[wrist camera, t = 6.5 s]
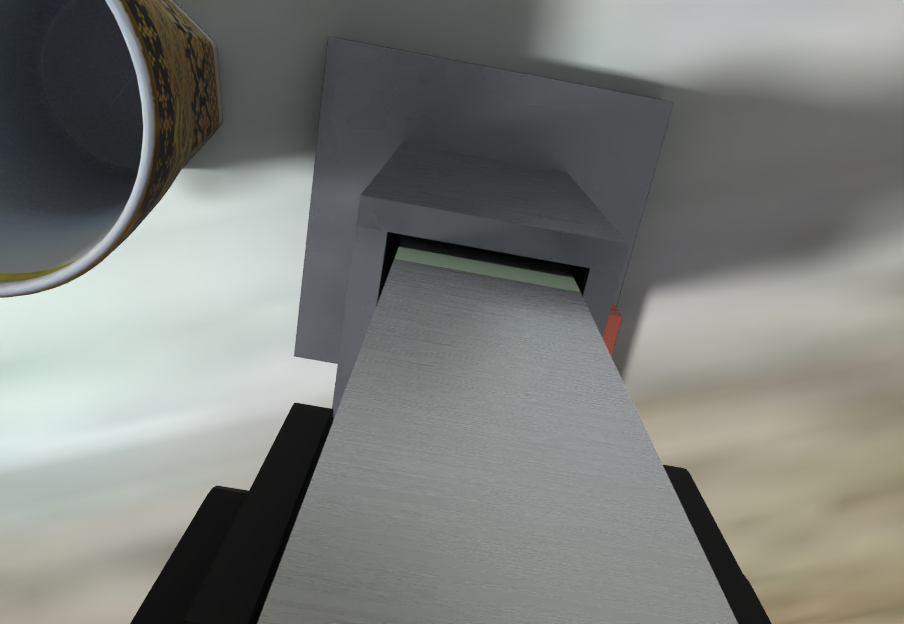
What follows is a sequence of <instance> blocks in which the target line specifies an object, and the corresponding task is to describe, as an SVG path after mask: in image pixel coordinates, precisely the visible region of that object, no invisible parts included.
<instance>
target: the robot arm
mask: <svg viewBox="0 0 904 624" xmlns="http://www.w3.org/2000/svg"><path fill="white" fill-rule="evenodd" d="M333 417H334V410H333V409H330V408H324V407H318V406H312V405H306V404H300V403H294V404H293V406H292V408H291V410H290V412H289V414H288V416H287V418H286V420H285V422H284V424H283V425H282V427H281V429H280V431H279V433H278V435H277V437H276V439H275V441H274V443H273V445H272V447H271V449H270V451H269V453H268V455H267V457H266V459H265V461H264V463H263V465H262V467H261V469H260V471H259V473H258V475H257V477H256V479H255V481H254V483H253V485H252V486H251V488H250V490H249V491H247V490H241V489H235V488H229V487H222V486H215V487H213V488H212V489H211V491H210V492H209V493H208V495H207V496H206V498H205V500H204V501H203V503H202V505H201V506H200V508H199V510H198V511H197V513H196V515H195V516H194V518H193V520H192V521H191V523H190V525H189V526H188V528H187V530H186V531H185V533H184V535H183V536H182V538H181V540H180V541H179V543H178V545H177V546H176V548H175V550H174V551H173V553H172V555H171V556H170V558H169V560H168V561H167V563H166V565H165V566H164V568H163V570H162V571H161V573H160V575H159V576H158V578H157V580H156V581H155V583H154V585H153V586H152V588H151V590H150V591H149V593H148V595H147V596H146V598H145V600H144V601H143V603H142V605H141V606H140V608H139V610H138V611H137V613H136V615H135V616H134V618H133V620H132V621H131V623H130V624H257V623H258V620H259V618H260V615H261V612H262V610H263V607H264V604H265V602H266V599H267V596H268V594H269V591H270V588H271V586H272V583H273V580H274V578H275V575H276V572H277V570H278V567H279V564H280V562H281V559H282V556H283V554H284V551H285V548H286V546H287V543H288V540H289V538H290V535H291V532H292V530H293V527H294V525H295V522H296V519H297V517H298V514H299V511H300V509H301V506H302V503H303V501H304V498H305V495H306V493H307V490H308V487H309V485H310V482H311V479H312V477H313V474H314V471H315V469H316V466H317V463H318V461H319V458H320V455H321V453H322V450H323V447H324V445H325V442H326V439H327V437H328V434H329V431H330V429H331V426H332V423H333V421H334V419H333ZM663 467H664V469H665V471H666V473H667V475H668V477H669V479H670V482H671V484H672V486H673V488H674V490H675V492H676V494H677V496H678V498H679V500H680V503H681V505H682V507H683V509H684V511H685V513H686V515H687V517H688V519H689V522H690V524H691V526H692V528H693V530H694V532H695V534H696V536H697V538H698V540H699V543H700V545H701V547H702V549H703V551H704V553H705V555H706V557H707V559H708V562H709V564H710V566H711V568H712V570H713V572H714V574H715V576H716V578H717V580H718V583H719V585H720V587H721V589H722V591H723V593H724V595H725V597H726V599H727V601H728V604H729V606H730V608H731V610H732V612H733V614H734V616H735V618H736V620H737V623H738V624H771V622H770V620H769V618H768V616H767V614H766V612H765V611H764V609H763V607H762V605H761V603H760V601H759V599H758V597H757V596H756V594H755V592H754V590H753V588H752V586H751V584H750V583H749V581H748V580H747V579H746V577H745V576H744V574H743V573H742V571H741V569H740V568H739V566H738V564H737V562H736V560H735V558H734V556H733V554H732V552H731V551H730V549H729V547H728V545H727V543H726V541H725V539H724V537H723V535H722V534H721V532H720V530H719V528H718V526H717V524H716V522H715V520H714V518H713V517H712V515H711V513H710V511H709V509H708V507H707V505H706V503H705V501H704V500H703V498H702V496H701V494H700V492H699V490H698V488H697V486H696V485H695V483H694V481H693V479H692V477H691V475H690V473H689V472H688V471H687V469H684V468H680V467H674V466H668V465H663Z"/></svg>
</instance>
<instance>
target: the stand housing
mask: <svg viewBox="0 0 904 624" xmlns="http://www.w3.org/2000/svg"><path fill="white" fill-rule="evenodd" d="M672 106H673V102H669V101H665V100H660V99H654V98H649V97H644V96H639V95H633V94H628V93H623V92H618V91H612V90H607V89H602V88H597V87H591V86H586V85H581V84H576V83H570V82H565V81H560V80H555V79H549V78H544V77H539V76H534V75H528V74H523V73H518V72H513V71H507V70H502V69H497V68H492V67H486V66H481V65H476V64H470V63H465V62H460V61H455V60H449V59H444V58H439V57H434V56H428V55H423V54H418V53H413V52H407V51H402V50H397V49H392V48H386V47H381V46H376V45H371V44H365V43H360V42H355V41H350V40H344V39H339V38H333V37H328V43H327V53H326V62H325V72H324V81H323V90H322V100H321V109H320V118H319V128H318V137H317V147H316V156H315V165H314V175H313V184H312V193H311V203H310V212H309V222H308V231H307V240H306V250H305V259H304V268H303V278H302V287H301V297H300V306H299V315H298V325H297V334H296V343H295V353H294V356H295V357H301V358H307V359H313V360H319V361H324V362H330V363H336V364H338V368H337V375H336V383H335V390H334V398H333V406H332V409H333V410H334V417H333V419H334V418H335V415H336V413H337V410H338V407H339V405H340V402H341V400H342V397H343V394H344V392H345V389H346V386H347V384H348V381H349V378H350V376H351V373H352V370H353V368H354V365H355V362H356V360H357V357H358V354H359V352H360V349H361V346H362V344H363V341H364V338H365V336H366V333H367V330H368V328H369V325H370V322H371V320H372V317H373V314H374V312H375V309H376V306H377V304H378V301H379V298H380V296H381V293H382V290H383V288H384V285H385V282H386V280H387V277H388V274H389V272H390V269H391V267H392V264H393V261H394V259H395V256H396V253H397V251H398V248H399V245H400V243H401V240H402V237H403V235H408V236H414V237H419V238H425V239H430V240H436V241H442V242H447V243H453V244H458V245H464V246H469V247H475V248H480V249H486V250H492V251H497V252H503V253H508V254H514V255H519V256H525V257H531V258H536V259H542V260H547V261H553V262H558V263H564V264H567V265H568V267H569V269H570V271H571V273H572V275H573V277H574V280H575V282H576V284H577V286H578V288H579V290H580V292H581V294H582V296H583V298H584V301H585V303H586V305H587V307H588V309H589V311H590V313H591V315H592V317H593V320H594V322H595V324H596V326H597V328H598V330H599V332H600V334H601V336H602V338H603V341H604V343H605V345H606V347H607V349H608V351H609V353H610V355H612V352H613V348H614V345H615V341H616V338H617V334H618V331H619V327H620V324H621V320H622V316H621V314H620V312H619V310H618V309H617V307H616V306H617V303H618V299H619V295H620V292H621V288H622V285H623V281H624V277H625V274H626V270H627V267H628V263H629V260H630V256H631V252H632V249H633V245H634V242H635V238H636V235H637V231H638V227H639V224H640V220H641V217H642V213H643V210H644V206H645V202H646V199H647V195H648V192H649V188H650V185H651V181H652V177H653V174H654V170H655V167H656V163H657V160H658V156H659V152H660V149H661V145H662V142H663V138H664V135H665V131H666V127H667V124H668V120H669V117H670V113H671V110H672Z"/></svg>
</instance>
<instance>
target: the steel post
mask: <svg viewBox="0 0 904 624" xmlns="http://www.w3.org/2000/svg"><path fill="white" fill-rule="evenodd" d="M257 624H738V623H737V620H736V618H735V616H734V614H733V612H732V610H731V608H730V606H729V604H728V601H727V599H726V597H725V595H724V593H723V591H722V589H721V587H720V585H719V583H718V580H717V578H716V576H715V574H714V572H713V570H712V568H711V566H710V564H709V562H708V559H707V557H706V555H705V553H704V551H703V549H702V547H701V545H700V543H699V540H698V538H697V536H696V534H695V532H694V530H693V528H692V526H691V524H690V522H689V519H688V517H687V515H686V513H685V511H684V509H683V507H682V505H681V503H680V500H679V498H678V496H677V494H676V492H675V490H674V488H673V486H672V484H671V482H670V479H669V477H668V475H667V473H666V471H665V469H664V467H663V465H662V463H661V461H660V458H659V456H658V454H657V452H656V450H655V448H654V446H653V444H652V442H651V439H650V437H649V435H648V433H647V431H646V429H645V427H644V425H643V423H642V421H641V418H640V416H639V414H638V412H637V410H636V408H635V406H634V404H633V402H632V399H631V397H630V395H629V393H628V391H627V389H626V387H625V385H624V383H623V381H622V378H621V376H620V374H619V372H618V370H617V368H616V366H615V364H614V362H613V360H612V357H611V355H610V353H609V351H608V349H607V347H606V345H605V343H604V341H603V338H602V336H601V334H600V332H599V330H598V328H597V326H596V324H595V322H594V320H593V317H592V315H591V313H590V311H589V309H588V307H587V305H586V303H585V301H584V298H583V296H582V294H581V292H580V290H579V288H578V286H577V284H576V282H575V280H574V277H573V275H572V273H571V271H570V269H569V267H568V265H567V264H564V263H558V262H553V261H547V260H542V259H536V258H531V257H525V256H519V255H514V254H508V253H503V252H497V251H492V250H486V249H480V248H475V247H469V246H464V245H458V244H453V243H447V242H442V241H436V240H430V239H425V238H419V237H414V236H408V235H403V237H402V240H401V243H400V245H399V248H398V251H397V253H396V256H395V259H394V261H393V264H392V267H391V269H390V272H389V274H388V277H387V280H386V282H385V285H384V288H383V290H382V293H381V296H380V298H379V301H378V304H377V306H376V309H375V312H374V314H373V317H372V320H371V322H370V325H369V328H368V330H367V333H366V336H365V338H364V341H363V344H362V346H361V349H360V352H359V354H358V357H357V360H356V362H355V365H354V368H353V370H352V373H351V376H350V378H349V381H348V384H347V386H346V389H345V392H344V394H343V397H342V400H341V402H340V405H339V407H338V410H337V413H336V415H335V418H334V421H333V423H332V426H331V429H330V431H329V434H328V437H327V439H326V442H325V445H324V447H323V450H322V453H321V455H320V458H319V461H318V463H317V466H316V469H315V471H314V474H313V477H312V479H311V482H310V485H309V487H308V490H307V493H306V495H305V498H304V501H303V503H302V506H301V509H300V511H299V514H298V517H297V519H296V522H295V525H294V527H293V530H292V532H291V535H290V538H289V540H288V543H287V546H286V548H285V551H284V554H283V556H282V559H281V562H280V564H279V567H278V570H277V572H276V575H275V578H274V580H273V583H272V586H271V588H270V591H269V594H268V596H267V599H266V602H265V604H264V607H263V610H262V612H261V615H260V618H259V620H258V623H257Z"/></svg>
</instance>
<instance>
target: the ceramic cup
mask: <svg viewBox="0 0 904 624" xmlns="http://www.w3.org/2000/svg"><path fill="white" fill-rule="evenodd" d="M222 122H223V113H222V100H221V89H220V77H219V66H218V55H217V47H216V45H215V43H214V42H213V41H212V40H211V39H210V37H209V36H208V35H207V34H206V33H205V32H204V31H203V30H202V29H201V28H200V27H199V26H198V25H197V24H196V23H195V22H194V21H193V20H192V19H191V18H190V17H189V16H188V15H187V14H186V13H185V12H184V11H183V10H182V9H181V8H180V7H179V6H178V5H177V4H176V3H175V2H174V1H173V0H0V297H13V296H22V295H29V294H34V293H38V292H42V291H45V290H49V289H53V288H56V287H58V286H61V285H63V284H66V283H68V282H70V281H72V280H74V279H76V278H78V277H80V276H81V275H83V274H85V273H86V272H88V271H89V270H91V269H92V268H94V267H95V266H96V265H98V264H99V263H100V262H102V261H103V260H104V259H105V258H106V257H107V256H108V255H109V254H110V253H111V252H113V251H114V250H115V249H116V248H117V247H118V246H119V245H120V244H121V243H122V242H123V241H124V240H125V239H126V238H128V236H129V235H130V234H131V233H132V232H133V231H134V230H135V229H136V228H137V227H138V226H139V224H140V223H141V222H142V221H143V220H144V219H145V218H146V216H147V215H148V214H149V213H150V212H151V211H152V209H153V208H154V207H155V206H156V205H157V204H158V202H159V201H160V200H161V199H162V197H163V196H164V195H165V193H166V192H167V191H168V189H169V188H170V186H171V185H172V183H173V182H174V180H175V178H176V177H177V175H178V174H179V172H180V171H181V169H182V168H183V167H184V166H185V165H186V164H187V163H188V162H189V161H190V159H191V158H192V157H193V156H194V155H195V154H196V153H197V152H198V151H199V149H200V148H201V147H202V146H203V145H204V144H205V143H206V142H207V141H208V139H209V138H210V137H211V136H212V135H213V134H214V133H215V131H216V130H217V129H218V128H219V127H220V125H221V124H222Z"/></svg>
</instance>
